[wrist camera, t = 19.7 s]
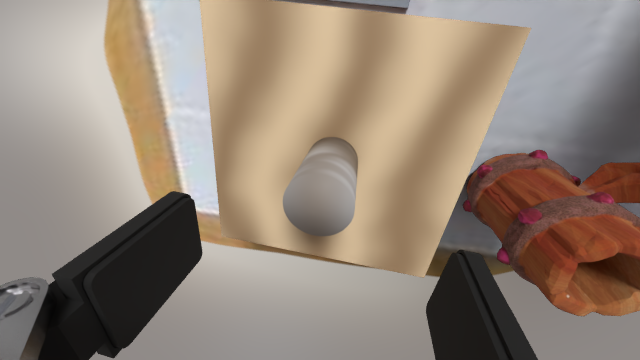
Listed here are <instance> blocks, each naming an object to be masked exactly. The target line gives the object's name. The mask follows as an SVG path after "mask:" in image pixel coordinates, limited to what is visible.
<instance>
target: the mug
mask: <svg viewBox="0 0 640 360" xmlns="http://www.w3.org/2000/svg"><path fill="white" fill-rule="evenodd" d="M580 183H581V181H580V179H579V178H577V177H575V176H572V175H570V174H569V173H568V172H567V171H566V170H565V169H564V168H563V167H561V166H560V165H558V164H557V163H555V162H554V161H552V160H550V159H548V156H547V153H546V152H545V151H543V150H536V151H533V152H531V153H530V154H526V153H517V154H504V155H500V156H496V157H493V158H491V159H489V160H487V161H486V162H485V163H483V164H482V165H481V166H480V167H479V168H478V170H476V171H475V172H474V173H473V175H472V176H471V178H470V180H469V182H468V185H467V193H468V199H467V200H466V201H465V202H464V204H463V208H464V210H465V211H468V212H473V214H474V215H475V216H476V217H477V218H478V219H479V220H480V221H481V222H482V223H484V224H485V225H487V226H489V227H491V229H492V230H493V231H494V233H495V234H496V235H497V237H498V238H499V239H500V241H501V242H502V248H501V249H500V250H499V251H498V253H497V259H498V260H499V261H501V262H502V263H505V264H509V265H511V266H512V268H513V269H514V270H515V272H516V273H517V274H518V275H519V276H521V277H522V278H523V279H525V280H527V281H529V282H531V283H532V284H535V285H536V286H537V287H538V288H539V289H540V290H541V292H542V293H543V294H544V295H545V297H546V298H547V299H548V300H549V301H550V302H551V303H552V304H553V305H554V306H555V307H557V308H558V309H561V310H563V311H565V312H568V313H571V314H574V315H577V316H585V315H587V314H589V313H590V312H596V313H599V314H602V315H611V316H622V315H625V314H629V313H632V312H636V311H640V218H639V217H637V216H636V215H634V214H633V213H631V212H629V211H628V210H626V209H625V208H623V207H622V206H620V205H618V204H617V203H640V163H607V164H604V165H601V167H600V168H599V169H598V170H597V171H596V172H595V173H593V174H592V175H591V176H590V177H588V178H587V179H586V180H585V181H584V182H583V183H582V184H580Z"/></svg>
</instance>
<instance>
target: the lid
mask: <svg viewBox="0 0 640 360" xmlns="http://www.w3.org/2000/svg"><path fill="white" fill-rule="evenodd" d="M200 9H201V19H202V30H203V41H204V52H205V62H206V73H207V84H208V95H209V106H210V116H211V127H212V138H213V149H214V160H215V170H216V181H217V192H218V203H219V214H220V224H221V235H222V236H223V237H228V238H233V239H237V240H242V241H247V242H252V243H257V244H262V245H267V246H272V247H277V248H281V249H286V250H291V251H296V252H301V253H306V254H311V255H316V256H320V257H325V258H330V259H335V260H340V261H345V262H350V263H355V264H359V265H364V266H369V267H374V268H379V269H384V270H389V271H394V272H398V273H403V274H409V275H413V276H418V277H423V278H424V277H425V274H426V272H427V270H428V267H429V265H430V263H431V260H432V258H433V256H434V253H435V251H436V249H437V246H438V244H439V242H440V239H441V237H442V235H443V233H444V230H445V228H446V226H447V223H448V221H449V219H450V216H451V214H452V212H453V209H454V207H455V205H456V202H457V200H458V198H459V195H460V193H461V191H462V188H463V186H464V184H465V181H466V179H467V177H468V174H469V172H470V170H471V167H472V165H473V163H474V160H475V158H476V156H477V153H478V151H479V149H480V146H481V144H482V142H483V139H484V137H485V135H486V132H487V130H488V128H489V125H490V123H491V121H492V118H493V116H494V114H495V111H496V109H497V107H498V104H499V102H500V100H501V97H502V95H503V93H504V90H505V88H506V86H507V83H508V81H509V79H510V76H511V74H512V72H513V69H514V67H515V65H516V62H517V60H518V58H519V55H520V53H521V51H522V48H523V46H524V44H525V41H526V39H527V37H528V34H529V32H530V30H531V28H527V27H518V26H509V25H499V24H490V23H480V22H471V21H461V20H452V19H442V18H433V17H424V16H414V15H405V14H395V13H386V12H376V11H367V10H357V9H348V8H339V7H329V6H320V5H310V4H301V3H291V2H282V1H272V0H200Z"/></svg>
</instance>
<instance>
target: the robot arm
mask: <svg viewBox="0 0 640 360" xmlns="http://www.w3.org/2000/svg"><path fill="white" fill-rule="evenodd" d="M201 256H202V247H201V240H200V234H199V227H198V221H197V215H196V209H195V203H194V200H193V199H191V196H190V195H188V194H185V193H180V192H175V191H173V192H170V193H168V194H167V195H165V196H164V197H163V198H161V199H160V200H158V201H157V202H155V203H154V204H152V205H151V206H150V207H148V208H147V209H145V210H144V211H142V212H141V213H139V214H138V215H137V216H135V217H134V218H132V219H131V220H129V221H128V222H126V223H125V224H124V225H122V226H121V227H119V228H118V229H116V230H115V231H114V232H112V233H111V234H110V235H108V236H106V237H105V238H103V239H102V240H101V241H99V242H98V243H96V244H95V245H93V246H92V247H90V248H89V249H88V250H86V251H85V252H83V253H82V254H80V255H79V256H77V257H76V258H75V259H73V260H72V261H70V262H69V263H67V264H66V265H64V266H63V267H62V268H60V269H59V270H57V271H56V272H54V273H53V274H52V276H53V277H54V279H55V281H54V282H52V283H51V284H50V285H48V283H47V281H46V280H44V279H42V278H34V277H30V278H23V279H18V280H15V281H11V282H8V283H5V284H3V285H1V286H0V360H89V359H90V358H91V357H92V356H93V355H94V354H95V352H96V351H97V353H98V354H101V355H104V356H107V357H111V358H115V356H116V355H117V354H118V353H119V352H120V350H121V349H122V348H126V347H127V346H129V345H130V344H131V343H132V342H133V340H134V339H135V338H136V337H137V335H138V334H139V333H140V332H141V331H142V329H143V328H144V327H145V326H146V325H147V323H148V322H149V321H150V320H151V318H152V317H153V316H154V315H155V314H156V313H157V311H158V310H159V309H160V308H161V307H162V305H163V304H164V303H165V302H166V300H167V299H168V298H169V297H170V296H171V294H172V293H173V292H174V291H175V290H176V288H177V287H178V286H179V285H180V284H181V282H182V281H183V280H184V279H185V278H186V276H187V275H188V274H189V273H190V272H191V270H192V269H193V268H194V267H195V266H196V264H197V263H198V262H199V261H200V259H201ZM426 314H427V319H428V325H429V329H430V334H431V339H432V344H433V349H434V353H435V359H436V360H538V359H537V357H536V355H535V353H534V351H533V350H532V348H531V346H530V344H529V342H528V340H527V339H526V337H525V335H524V333H523V331H522V329H521V327H520V326H519V324H518V322H517V320H516V318H515V316H514V314H513V313H512V310H511V309H510V307H509V306H508V304H507V302H506V300H505V298H504V296H503V294H502V293H501V291H500V289H499V287H498V285H497V283H496V281H495V280H494V278H493V276H492V274H491V272H490V270H489V268H488V266H487V265H486V263H485V261H484V259H483V257H482V256H481V254H479V253H474V252H469V251H465V250H459V251H458V252H457V253H452V254H451V256H450V258H449V260H448V262H447V264H446V266H445V268H444V270H443V272H442V274H441V276H440V279H439V281H438V283H437V285H436V287H435V289H434V291H433V293H432V295H431V297H430V299H429V301H428V303H427V307H426Z"/></svg>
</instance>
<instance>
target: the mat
mask: <svg viewBox="0 0 640 360" xmlns="http://www.w3.org/2000/svg"><path fill="white" fill-rule="evenodd" d="M329 1H338V2H348V3H358V4H367V5H377V6H387V7H396V8H406V9H408V6H409V2H410V0H329Z"/></svg>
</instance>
